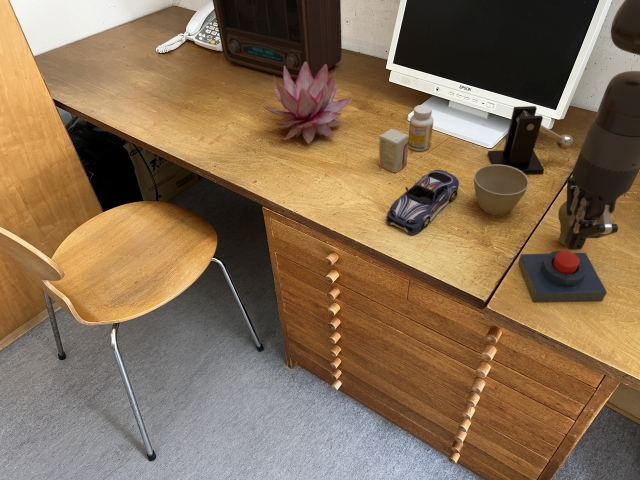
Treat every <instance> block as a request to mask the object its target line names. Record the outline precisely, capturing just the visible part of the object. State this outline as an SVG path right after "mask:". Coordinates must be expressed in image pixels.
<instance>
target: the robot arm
mask: <svg viewBox="0 0 640 480" xmlns="http://www.w3.org/2000/svg"><path fill="white" fill-rule="evenodd" d="M610 26H611V28H610V38H611V41H612V43H613V45H614V46H615V47H616V48H618V49H619V50H621V51H624V52H626V53H629V54H633V55H636V56H640V0H624V1H623V2H622V3H621V5H620V6H619V8H618V9H617V11H616V12H615V15H614V17H613V20H612V22H611V25H610ZM639 172H640V70H628V71H623V72H619V73H618V74H616V75H614V76H613V77H612V78H611V79H610V80H609V82H608V84H607V85H606V88H605V90H604V93H603V96H602V99H601V101H600V103H599V107H598V109H597V112H596V114H595V117H594V119H593V121H592V123H591V125H590V127H589V129H588V130H587V133H586V135H585V138H584V141H583V143H582V145H581V148H580V151H579V153H578V156H577V158H576V162H575V164H574V167H573V169H572V173H571V176H569V177H567V179H566V201H567V209H566V213H567V215H568V216H571V217H570V220H569V224H570V229H569V231H568V234H567V237H566V239H565V242H564V243H565V245H564V246H566V248H567V251H568V250H569V251H580V250H582V249H583V247H584V245H585V243H586V241H587V239H600V238H603V237H607V236H609V235H612V234H616V233H618V231H619V226H618V224H617V223H612V218H611V217H612V216H611V214H612V213H613V212H615V209H616V203H617V199H619V198H620V197H621V196H623V195H625V194H626V193H629V191H630V190H631V188H632V186H633V184H634V182H635V180H636V178H637V176H638V174H639Z"/></svg>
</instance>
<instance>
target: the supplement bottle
mask: <svg viewBox="0 0 640 480" xmlns="http://www.w3.org/2000/svg"><path fill="white" fill-rule="evenodd" d="M432 112H433V109H432V107H431V106H429V105H426V104H418V105H416V106H414V108H413V114H412V116H411V117H410V118H409V125H408V126H409V127H408V148H409V149H411V150H412V151H415V152H424V151H427V150H429V148H430V146H431V144H432V143H431V142H432V135H433V128H434V118H433V116H432V114H433V113H432Z"/></svg>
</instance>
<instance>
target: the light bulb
mask: <svg viewBox="0 0 640 480" xmlns="http://www.w3.org/2000/svg"><path fill="white" fill-rule="evenodd" d="M566 209H567V200H565V201H564V202H563V203H562V204H561V205H560V207H559V210H558V214H557V216H558V217H557V218H558V221H559V225H560V227H559V230H560V231H559V232H560V234H559V236H558V237H557V240H558V242H559V243H560V244H561V245H562V246H566V245H565V243H564V242H565V239H566V237H567V234H568V231H569V229H570V224H569V220H570V217H571V216H568V215H567V213H566Z"/></svg>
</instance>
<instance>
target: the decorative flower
mask: <svg viewBox="0 0 640 480" xmlns="http://www.w3.org/2000/svg"><path fill="white" fill-rule="evenodd" d="M282 77H283V84H281V83H280V84H279V83H278V81H277V79H276V77H275V76H273V79H274V85H275V86H276V88H274V93H275V95H276V98H277V101H278V102H279V103H280V105H281V106H282V107H283V108H284V109H285V111H284V110H280V109H275V108H272V107H271V108H270V107H269V106H266V105H265V104H262V103H260V105H261V107H263V108H264V109H265V110H267V111H268V112H270V113H271V114H274V115H277V116H280V117H283V118H285V119H286V120H280V119H273V118H272V121H274V122H276V123H278V124H281V125H279V126H276V127H274V129H276V130H280V129H287V128H289V127H291V129H290V130H289V131H288V133H287V134H286V136H285V137H284V138H283V141H287V140H289V139H291V138H292V137H295V136H296V138H297V137H299V136H300V135H301V134H302V136H303V139H304V140H305V142H306V143H307V144H308V145H309V144H310V143H312V141H313V140H314V138H315V135H316V134H317V135H318V136H320V137H322V135H323V136H327V137H332V138H333V137H335V134H334V132H333V130H332V129H331V126H334V127H335V126H339V125H341V124H343V122H341V121H340V120H337V119H338V118H339V117H340V116H341V115H342V113H340V112H341V111H342V110H343V109H344V108H346V107H347V105H348V104H349V103H350V102H351V101H352V99H353V97H352V96H351V97H346V98H343V99H337V100H335V96H336V93H337V87H338V84H337V83H335V80H336V79H335V78H336V72H333V73H332V75H331V76H330V72H329V69H328V68H327V64H325V65H324V66H323V67H322V68H321V70H320V71H319V72H318V74H317V75H316V76H315V78H314V79H313V78H312V74H311V71H310V69H309V66H308V64H307V62H304V64H303V66H302V68H301V70H300V72H299V75H298V78H297V79H296V81H295V82H294V81H293V78H291V77H290V75H289V73H288V71H287V69H286V67H285V66H284V72H283V76H282ZM286 110H287V111H286Z"/></svg>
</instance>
